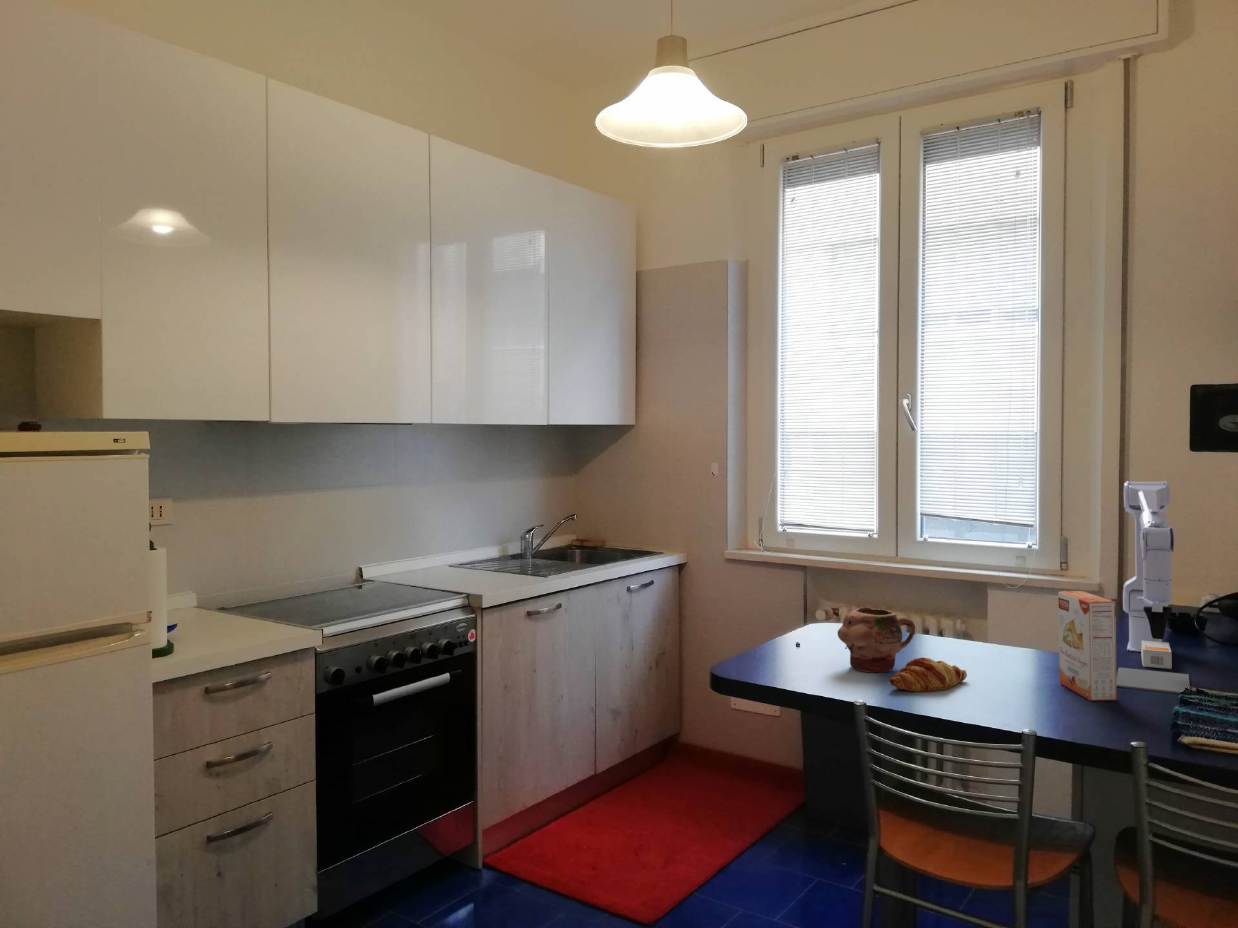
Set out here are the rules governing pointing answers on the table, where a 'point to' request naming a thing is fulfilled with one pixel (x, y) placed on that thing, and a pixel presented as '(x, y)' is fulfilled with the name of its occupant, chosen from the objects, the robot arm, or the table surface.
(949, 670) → the croissant
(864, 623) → the brown sculpted mug
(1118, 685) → the rubber mat
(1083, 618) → the cracker box
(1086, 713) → the table surface
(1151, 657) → the skincare box
